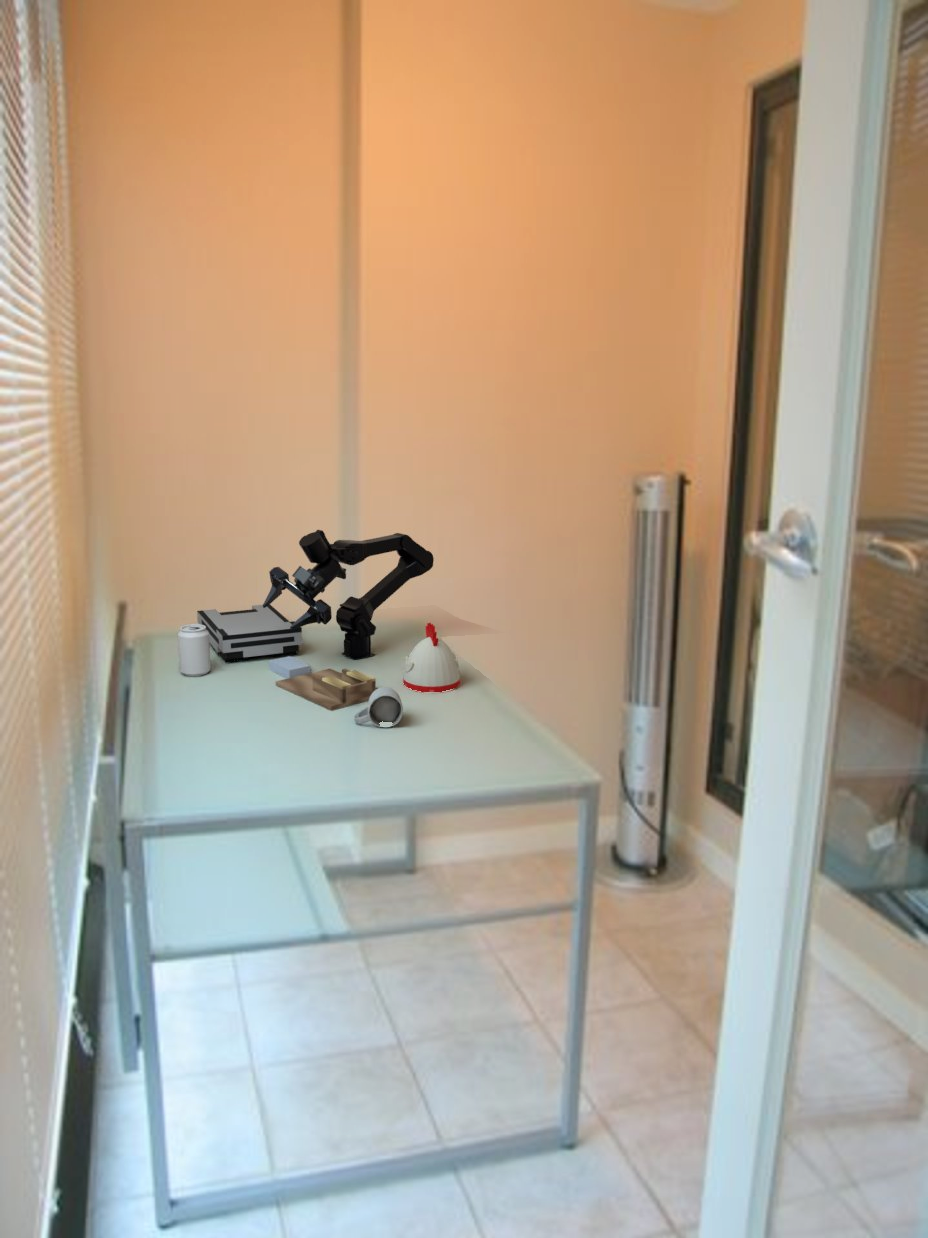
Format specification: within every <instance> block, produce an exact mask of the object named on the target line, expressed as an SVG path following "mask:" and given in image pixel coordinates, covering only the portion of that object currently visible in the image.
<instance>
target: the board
mask: <svg viewBox="0 0 928 1238" xmlns="http://www.w3.org/2000/svg"><path fill="white" fill-rule="evenodd" d="M376 679H377V678H376V677H373V676H370V675H369V674H366V673H363V672H360V671H358V670H356V669H355V670H350V669H347V668H342V669H341V672H339V671H337V670H335V669H332V668H326V669H321V670H318V671H313V672H311V673H309V674H305V675H300V676H296V677H292V678H288V679H286V678H283V679H280V680H276V681H275V686H276V687H278V688H281V689H282V690H285V691H287V692H289V693H291V694H293V695H296V696H298V697H301V698H303V699H304V700H307V701H309V702H311V703H313V704H315V705H318V706H320V707H322V708H324V709H327V710H329V711H330V712H331V711H334V710H338V709H339V710H340V709H342V708H347V707H350V706H354V705H357V704H360V703H364V702H367V701H368V702H369V698H370V696H371V694H372V693H373V692H374V691H375V690H376V689H378V687H377V686H376V683H377V682H376V681H377V680H376Z"/></svg>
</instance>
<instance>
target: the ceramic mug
mask: <svg viewBox="0 0 928 1238" xmlns="http://www.w3.org/2000/svg"><path fill="white" fill-rule="evenodd" d="M377 688H378V687H377ZM367 705H368V706H367V707H364V708H362V709H361V710H359V711H357V712H356V713H355V714H354V716H353V720H354V722H355V724H356V723H358V724H357V725H362V724H365V723H368V722H371V723H372V724H373V725H374V726H375V727H377V726H380V724H379V723H380V722H382V721H383V722H392V723H393V724H392V725H395V726H397V724H399V722H400V721H401V720H402V717H403V715H404V707H403V703H402V699H401V697H400V694H399V693H398V692H397V691H396V690H395V689H393V688H392V687H387V686H382V687H379V688H378V689H376V690H375V691H374V692H373V693H372V694H371V696H370V698H369V700H368V702H367Z"/></svg>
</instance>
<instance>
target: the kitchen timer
mask: <svg viewBox="0 0 928 1238" xmlns="http://www.w3.org/2000/svg"><path fill="white" fill-rule="evenodd" d="M437 634H438V633H437V631H436V626H435V625H434V624H433V623H432V622H427V624H426V625H425V635H426V637H425V638H423V639H422V640H420V641H419V642H418V643H417V644H416V645H415V646H414V647H413V649H412V651H411V652H410V654H409V656H408V655H406V656H405V659H404V666H403V676H402V678H403V679H402V684H403V683H404V684H403V686H404V685H405V686H406V687H408V688H411V689H412V690H417V691H421V692H420V693H424V692H440V693H443V692H442V691H446V690H450V689H453V688H456V687H457V688H459V687H458V685H459V684H460V685H461V675H460V674H461V673H460V666H459V660H458V657H457V656H456V654H455V653H454V652H453V651H452V649H451V648H450V646H448V645H447V643H446V642H445V641H443V640H442V639H441V638H438V637H437ZM460 685H459V686H460ZM405 686H404V687H405ZM406 687H405V688H406ZM457 688H456V689H457ZM412 690H411V691H412ZM417 691H416V692H417Z"/></svg>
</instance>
